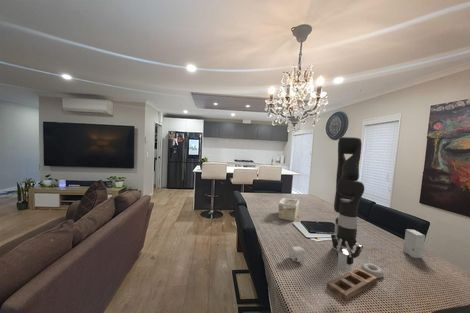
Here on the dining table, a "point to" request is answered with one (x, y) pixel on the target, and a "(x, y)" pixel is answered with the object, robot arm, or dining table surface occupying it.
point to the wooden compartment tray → (351, 283)
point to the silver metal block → (343, 260)
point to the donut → (372, 269)
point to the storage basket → (288, 209)
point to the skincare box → (414, 243)
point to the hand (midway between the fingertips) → (344, 261)
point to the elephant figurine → (297, 253)
